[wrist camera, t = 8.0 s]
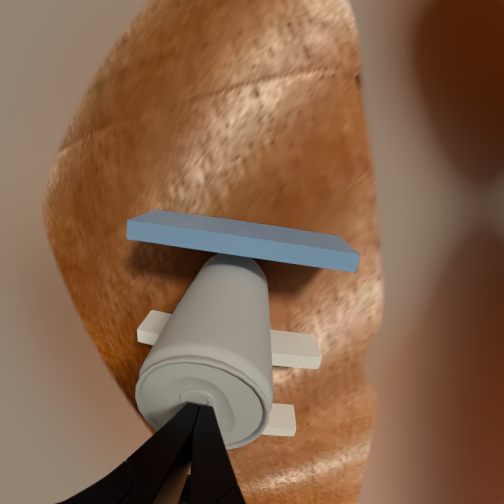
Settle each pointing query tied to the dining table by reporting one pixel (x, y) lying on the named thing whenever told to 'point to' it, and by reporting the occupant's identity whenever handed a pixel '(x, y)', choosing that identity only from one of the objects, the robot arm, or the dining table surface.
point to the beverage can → (215, 352)
